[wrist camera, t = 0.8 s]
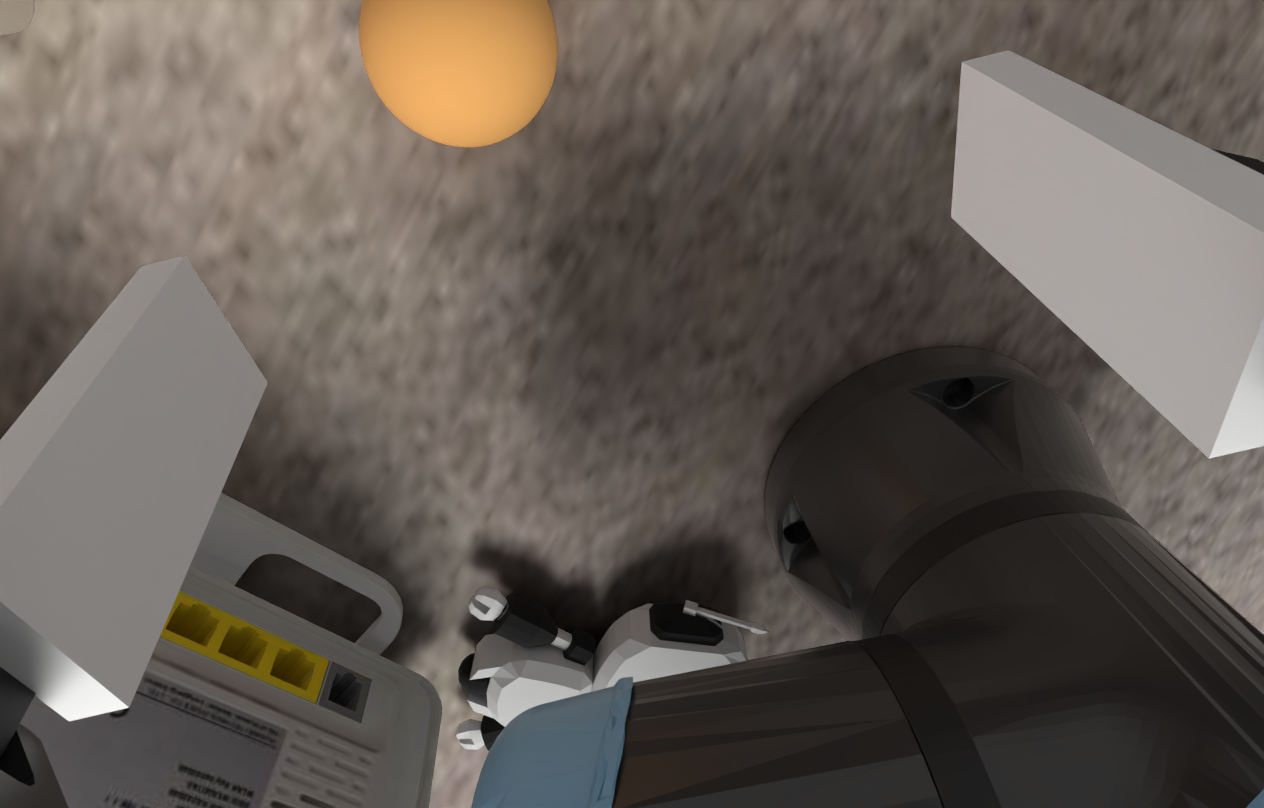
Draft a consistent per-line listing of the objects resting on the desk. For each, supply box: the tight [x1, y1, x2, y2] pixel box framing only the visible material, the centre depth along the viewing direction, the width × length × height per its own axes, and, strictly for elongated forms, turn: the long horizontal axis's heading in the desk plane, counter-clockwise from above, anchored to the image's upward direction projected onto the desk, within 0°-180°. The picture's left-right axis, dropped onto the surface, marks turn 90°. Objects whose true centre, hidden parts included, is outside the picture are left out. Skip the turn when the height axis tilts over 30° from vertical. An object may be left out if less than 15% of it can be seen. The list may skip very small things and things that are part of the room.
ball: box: [359, 0, 558, 147], centre depth 24 cm, size 6×6×6 cm
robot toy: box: [456, 586, 768, 751], centre depth 40 cm, size 12×4×15 cm
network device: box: [20, 493, 442, 808], centre depth 27 cm, size 26×9×20 cm, turn 48°
